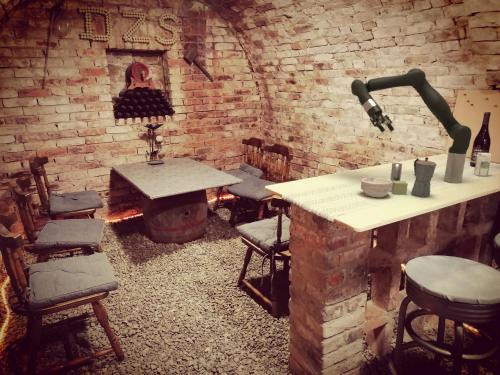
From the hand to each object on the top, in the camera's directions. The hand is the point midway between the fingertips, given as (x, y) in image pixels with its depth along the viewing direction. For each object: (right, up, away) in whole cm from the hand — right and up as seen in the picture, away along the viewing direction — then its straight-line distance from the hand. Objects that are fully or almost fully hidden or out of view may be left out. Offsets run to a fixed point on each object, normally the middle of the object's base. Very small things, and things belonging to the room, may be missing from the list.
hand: (388, 131), depth 195 cm
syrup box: (+72, -24, +31) cm, 82 cm away
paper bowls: (-12, -35, -13) cm, 39 cm away
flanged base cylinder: (+3, -32, -1) cm, 32 cm away
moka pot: (+12, -35, -12) cm, 39 cm away
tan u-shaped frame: (+2, -33, -4) cm, 33 cm away
